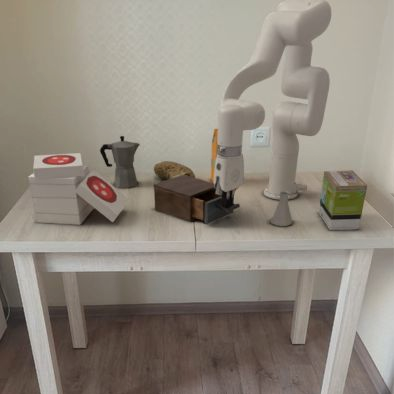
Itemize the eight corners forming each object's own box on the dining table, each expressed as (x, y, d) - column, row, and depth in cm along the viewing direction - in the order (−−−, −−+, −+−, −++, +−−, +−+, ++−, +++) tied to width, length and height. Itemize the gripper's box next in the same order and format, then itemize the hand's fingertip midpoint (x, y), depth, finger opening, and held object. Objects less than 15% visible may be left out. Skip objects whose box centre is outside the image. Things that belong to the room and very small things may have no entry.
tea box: (316, 213, 169) (323, 169, 160) (345, 212, 169) (353, 169, 161) (328, 230, 157) (336, 184, 148) (359, 230, 157) (369, 184, 149)
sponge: (198, 188, 193) (181, 164, 205) (196, 171, 187) (179, 146, 199) (167, 198, 191) (152, 173, 203) (164, 180, 185) (148, 155, 197)
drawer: (246, 216, 164) (247, 196, 160) (220, 228, 156) (220, 207, 151) (199, 201, 175) (199, 182, 171) (172, 212, 167) (172, 192, 163)
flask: (286, 228, 158) (290, 198, 152) (266, 223, 161) (269, 193, 155) (295, 221, 163) (299, 191, 157) (275, 216, 166) (278, 187, 160)
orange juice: (236, 184, 194) (239, 130, 182) (215, 185, 192) (216, 131, 180) (231, 178, 200) (234, 125, 188) (210, 179, 198) (211, 126, 186)
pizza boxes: (117, 229, 157) (112, 172, 146) (28, 224, 160) (16, 167, 149) (131, 207, 172) (127, 154, 162) (49, 203, 175) (40, 151, 165)
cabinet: (218, 209, 171) (219, 184, 166) (190, 221, 162) (190, 195, 157) (183, 198, 180) (183, 174, 175) (154, 209, 171) (153, 184, 166)
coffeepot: (139, 179, 198) (135, 131, 188) (145, 186, 191) (142, 137, 180) (101, 183, 194) (96, 135, 183) (106, 190, 187) (101, 141, 176)
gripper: (223, 157, 141) (220, 218, 152) (254, 148, 150) (250, 206, 161) (203, 153, 145) (203, 212, 156) (235, 143, 154) (232, 200, 165)
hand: (226, 209), depth 159 cm, fingers closed
